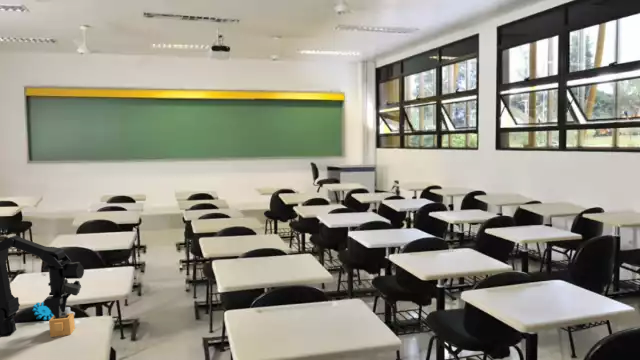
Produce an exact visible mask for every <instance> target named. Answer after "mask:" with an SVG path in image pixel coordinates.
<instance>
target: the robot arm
mask: <svg viewBox="0 0 640 360" xmlns="http://www.w3.org/2000/svg"><path fill="white" fill-rule="evenodd" d="M11 248H13V249H14V248H15V249H17V250H19V251H23V252H25V253H28V254H31V255H33V256H36V257H39V259H40V260H41V261H42V262H44V263H46V265H45V266H44V267H43V270H48V275H49V278H48V279H49V282H48V283H47V284H48V285H47V286H48V287H50V292H49V294H48V296H46V298H44V300H43V301H42V302H43V304H44V305H43V306H47V308H49V309H50V310H51V312H52V313H53V315H54V316H55V317H56V318H59V315H60V309H61V311H62V312H65V308H66V307H67V301H68V298H69V297H70V296H71V295H72V296H78V294H80V290H81V288H82V286H81V282H80V280H75V281H74V282H69V281H68V280H74V279H82V278H83V276H84V274H85V268H84V266H83V265H82V264H81V262H80V261H76V262H72V260H71V259H70V258H69V256H68V255H67V254H66V252H65V250H64V249H63V248H61V247H55V246H46V245H44V244H43V245H42V244H40V243H36V242H34V241H31V240H29V239H26V238H25V237H21V236H20V235H15V234H14V235H12V236H9V237H8V238H6V239H4V240H0V337H8V336H12V335H13V334H14V333H15V332H16V331H17V328H16V327H17V326H16V320H15V319H14V317H16V314H17V312H18V311H19V310H20V306H21V304H20V301H19V299H20V298H19V297H18V296H16V297H15V296H14V295H13V294H12V288H11V284H10V278H9V271H8V266H7V259H8V256H9V249H11Z"/></svg>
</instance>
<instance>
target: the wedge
mask: <svg viewBox="0 0 640 360" xmlns="http://www.w3.org/2000/svg"><path fill="white" fill-rule="evenodd" d="M67 317H68V315H67V313H62V314H60V315H59V318H56V317H55V319H61V318H67Z"/></svg>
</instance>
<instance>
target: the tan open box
mask: <svg viewBox="0 0 640 360" xmlns="http://www.w3.org/2000/svg"><path fill="white" fill-rule="evenodd" d="M62 313H67V315H68V317H67V318H61V319H55V316H53V317H52V318H51V319H50V320H48V323H49V324H48V325H49V334H50V335H49V336H50V338H51V337H61V336H70V335H72V333H73V332H74V331H75V329H76V325H75V316H76V312H75V311H72V310H71V307H70V306H66V308H65V312H62V311H61V309H60V314H62Z"/></svg>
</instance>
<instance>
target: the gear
mask: <svg viewBox="0 0 640 360" xmlns="http://www.w3.org/2000/svg"><path fill="white" fill-rule="evenodd" d="M32 307H33V309H32V312H34V313H33V314H34V316H36V320H41V319H42V320H43V321H49V320H50V319H51V318H52V317H53V316H54V315H53V313H52V312H51V310H50V309H49V308H48V307H47V306H44V304H43V301H42V302H41V303H40V302H36V303H35V304H34V305H33V306H32Z"/></svg>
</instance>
